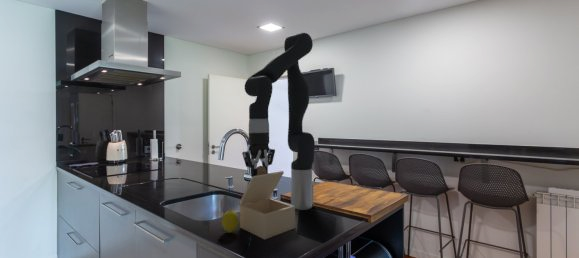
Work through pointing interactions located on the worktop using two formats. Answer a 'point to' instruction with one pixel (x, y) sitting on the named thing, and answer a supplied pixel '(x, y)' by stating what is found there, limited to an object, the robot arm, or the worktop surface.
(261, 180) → the lid
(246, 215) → the carton
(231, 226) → the lemon
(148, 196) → the worktop surface
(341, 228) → the worktop surface
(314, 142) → the robot arm
